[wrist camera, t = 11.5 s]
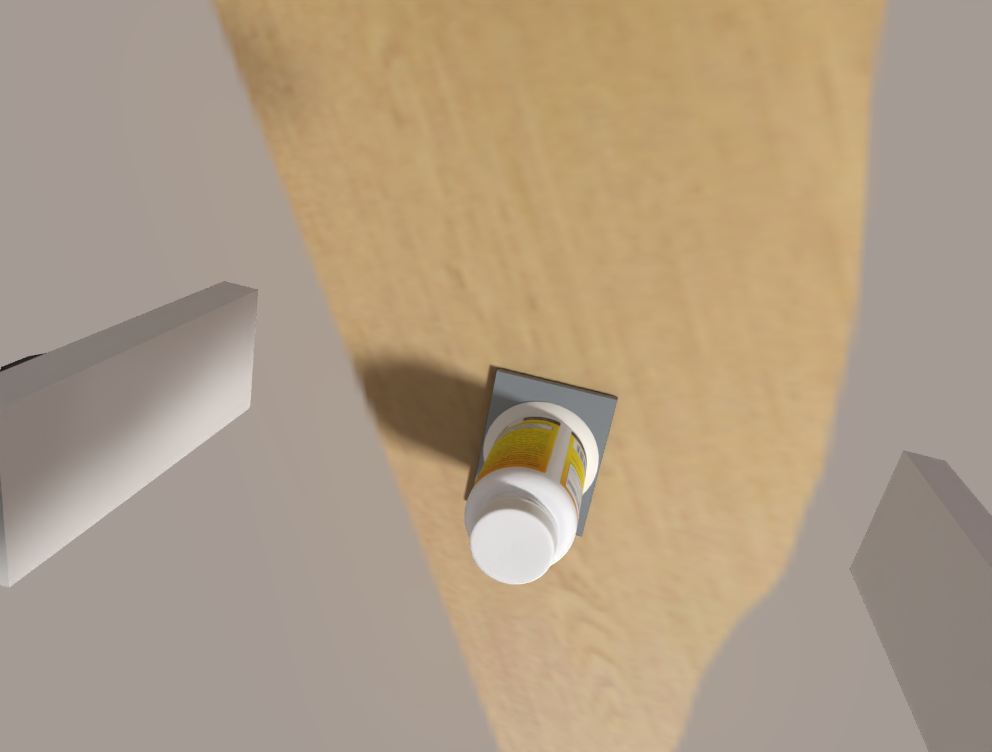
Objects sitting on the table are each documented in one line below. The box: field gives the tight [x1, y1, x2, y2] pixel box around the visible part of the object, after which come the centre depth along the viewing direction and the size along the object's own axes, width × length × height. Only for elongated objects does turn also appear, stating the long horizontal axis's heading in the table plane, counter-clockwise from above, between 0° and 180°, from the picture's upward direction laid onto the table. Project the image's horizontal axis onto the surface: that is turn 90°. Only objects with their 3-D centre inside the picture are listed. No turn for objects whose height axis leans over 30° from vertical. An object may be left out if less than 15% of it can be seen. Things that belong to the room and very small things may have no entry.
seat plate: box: [475, 368, 618, 537], centre depth 43 cm, size 9×7×1 cm
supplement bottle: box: [465, 415, 587, 584], centre depth 38 cm, size 6×6×10 cm
